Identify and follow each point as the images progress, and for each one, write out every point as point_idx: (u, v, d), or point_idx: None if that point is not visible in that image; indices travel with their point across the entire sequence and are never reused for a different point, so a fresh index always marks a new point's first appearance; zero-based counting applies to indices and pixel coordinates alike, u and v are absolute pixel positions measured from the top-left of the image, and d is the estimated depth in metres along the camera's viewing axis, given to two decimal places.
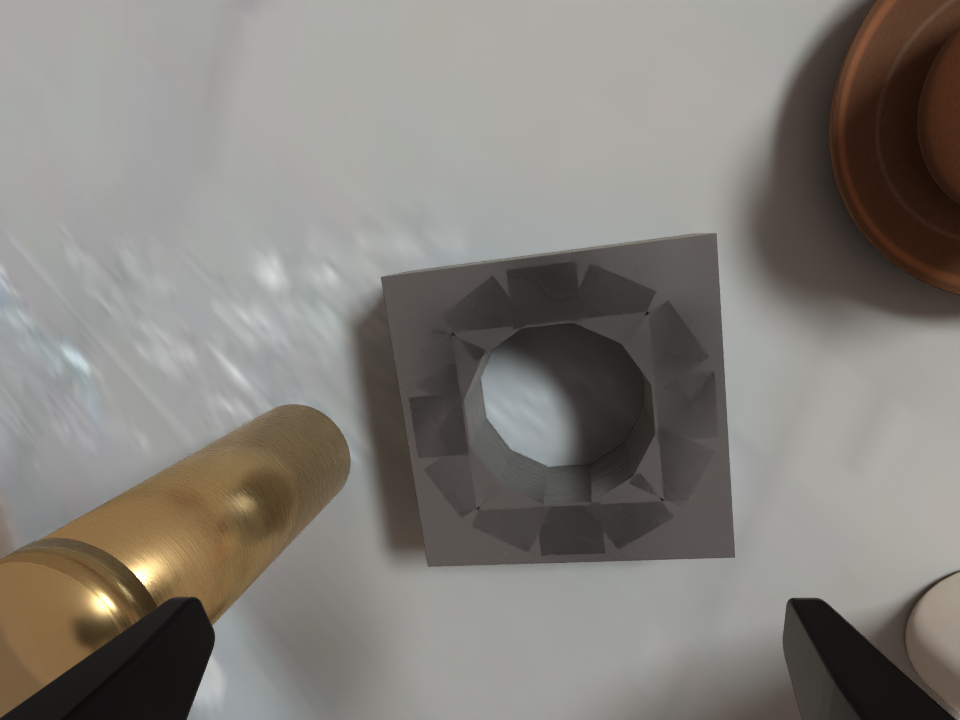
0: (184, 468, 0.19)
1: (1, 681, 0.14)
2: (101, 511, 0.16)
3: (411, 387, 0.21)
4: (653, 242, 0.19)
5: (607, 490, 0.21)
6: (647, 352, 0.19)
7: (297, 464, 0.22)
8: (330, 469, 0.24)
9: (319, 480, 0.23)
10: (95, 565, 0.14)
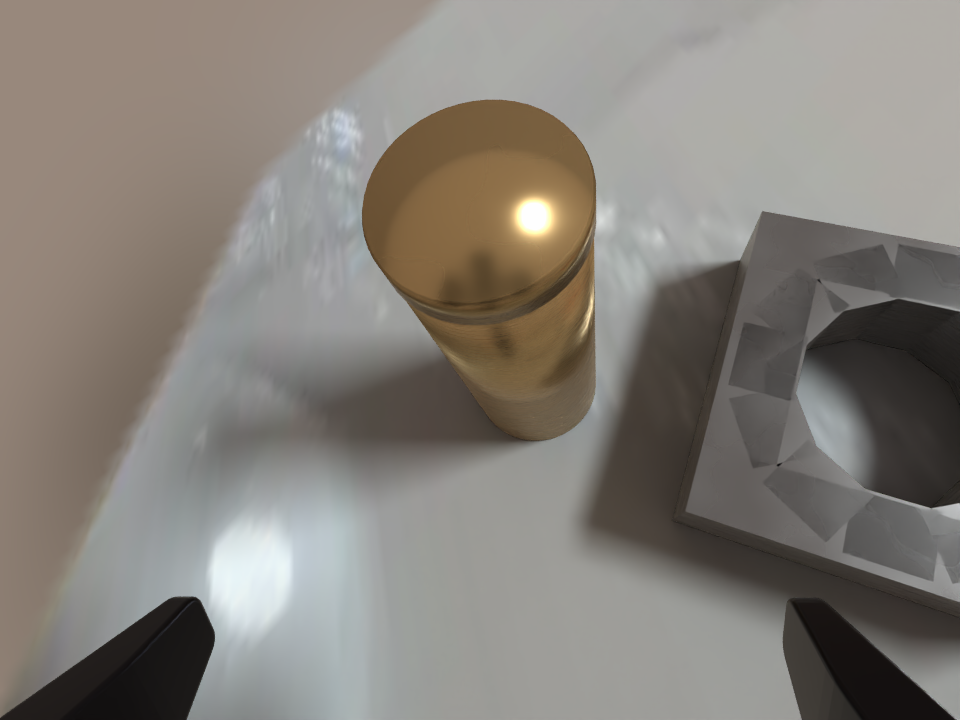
0: None
1: (403, 208, 0.12)
2: None
3: (751, 313, 0.20)
4: None
5: (953, 504, 0.17)
6: None
7: None
8: (593, 384, 0.21)
9: (592, 374, 0.20)
10: None
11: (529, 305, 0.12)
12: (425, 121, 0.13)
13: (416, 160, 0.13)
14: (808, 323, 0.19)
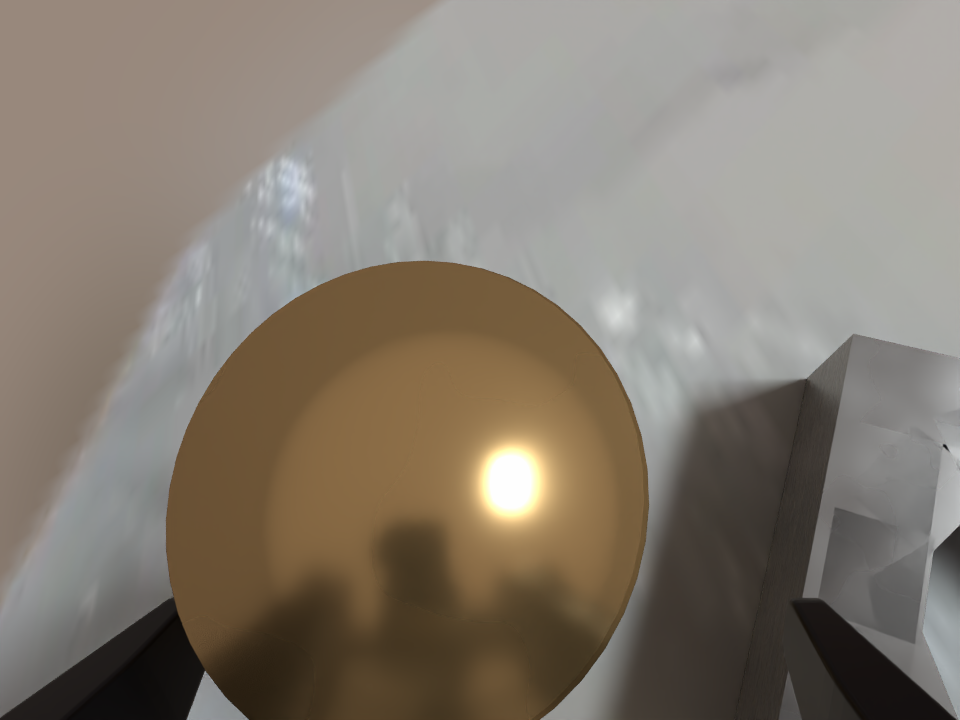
0: None
1: (247, 497, 0.06)
2: None
3: (846, 494, 0.13)
4: None
5: None
6: None
7: None
8: None
9: None
10: None
11: None
12: (310, 296, 0.07)
13: (282, 386, 0.06)
14: (934, 515, 0.13)
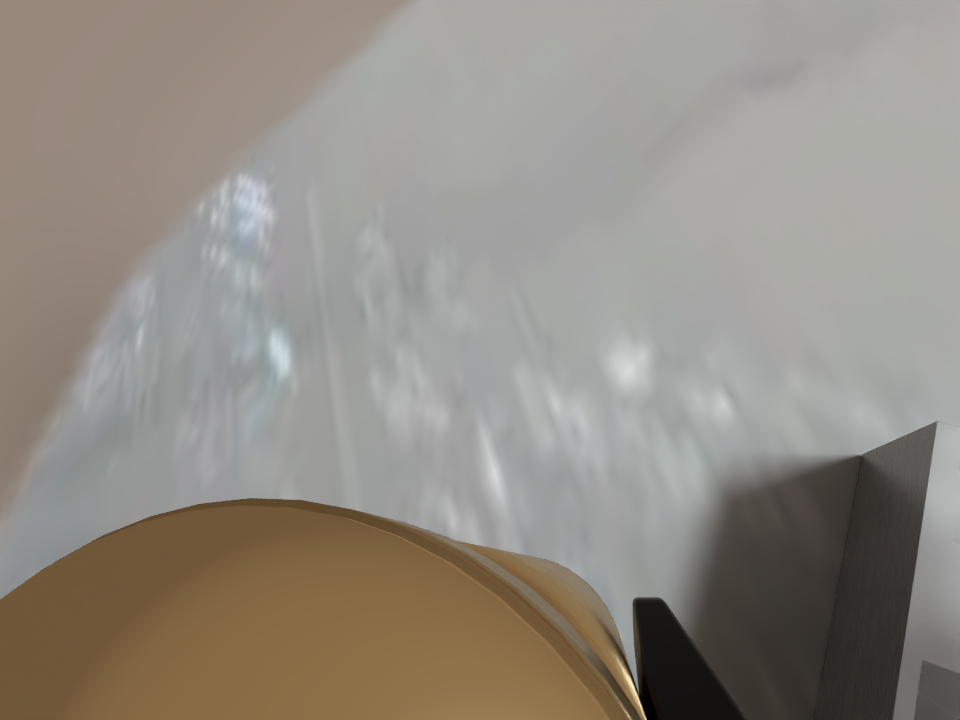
0: (534, 563, 0.08)
1: None
2: (471, 546, 0.06)
3: (936, 642, 0.10)
4: None
5: None
6: None
7: None
8: None
9: None
10: (633, 719, 0.03)
11: None
12: (76, 558, 0.03)
13: None
14: None
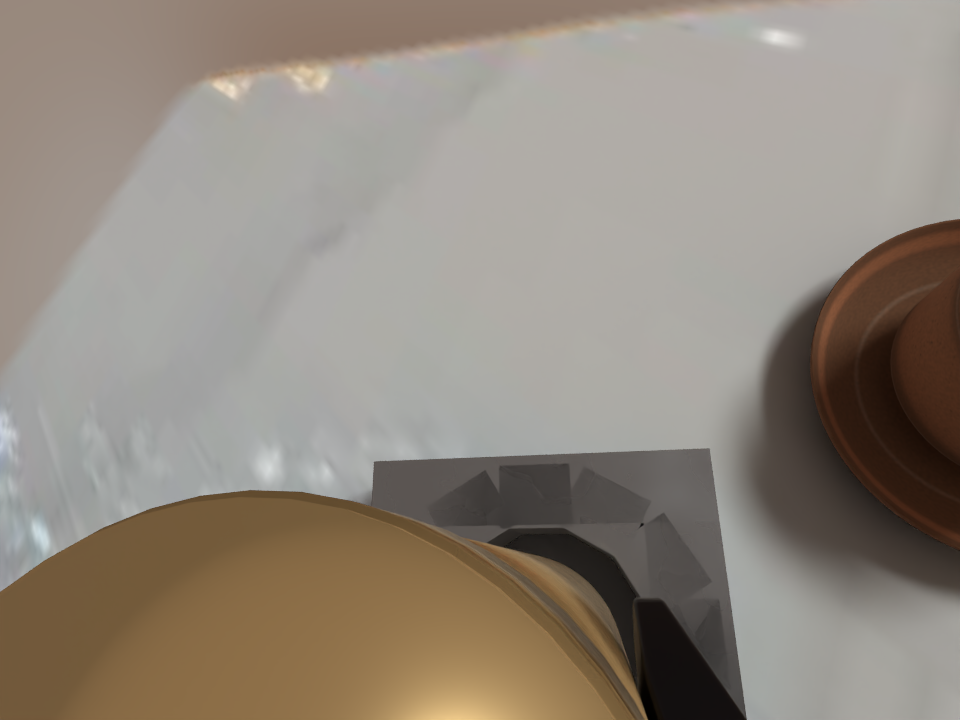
0: (534, 559, 0.08)
1: None
2: (471, 541, 0.06)
3: None
4: (647, 451, 0.19)
5: None
6: (643, 569, 0.18)
7: None
8: None
9: None
10: (632, 709, 0.03)
11: None
12: (77, 549, 0.04)
13: None
14: None
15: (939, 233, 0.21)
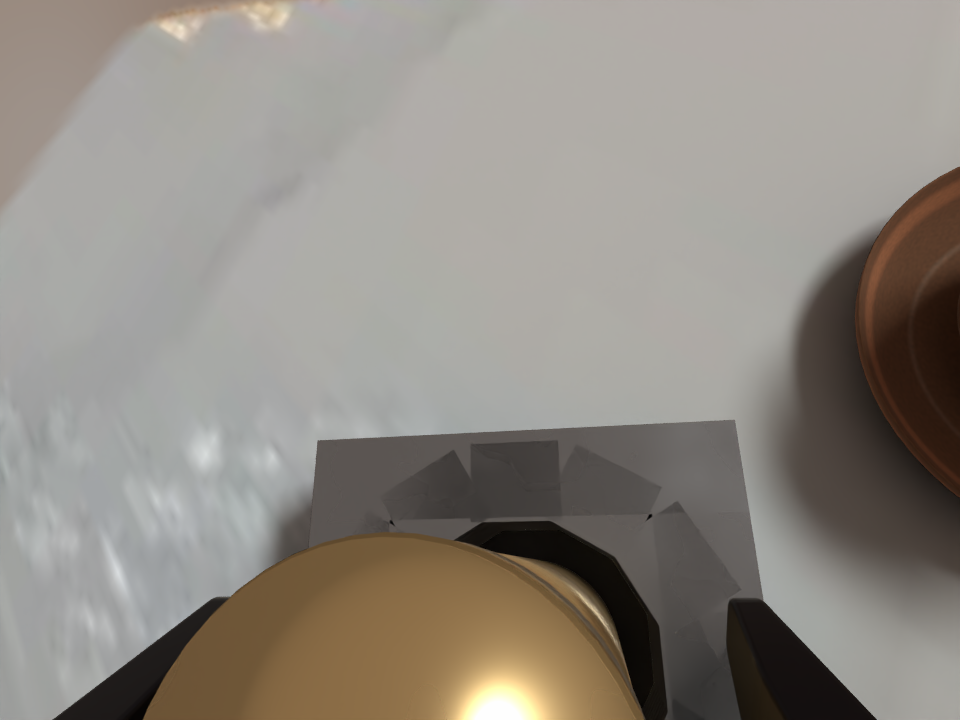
0: (546, 567, 0.10)
1: None
2: (505, 556, 0.08)
3: None
4: (655, 425, 0.15)
5: None
6: (651, 573, 0.14)
7: None
8: None
9: None
10: (614, 661, 0.05)
11: None
12: (279, 567, 0.06)
13: (244, 696, 0.05)
14: None
15: None
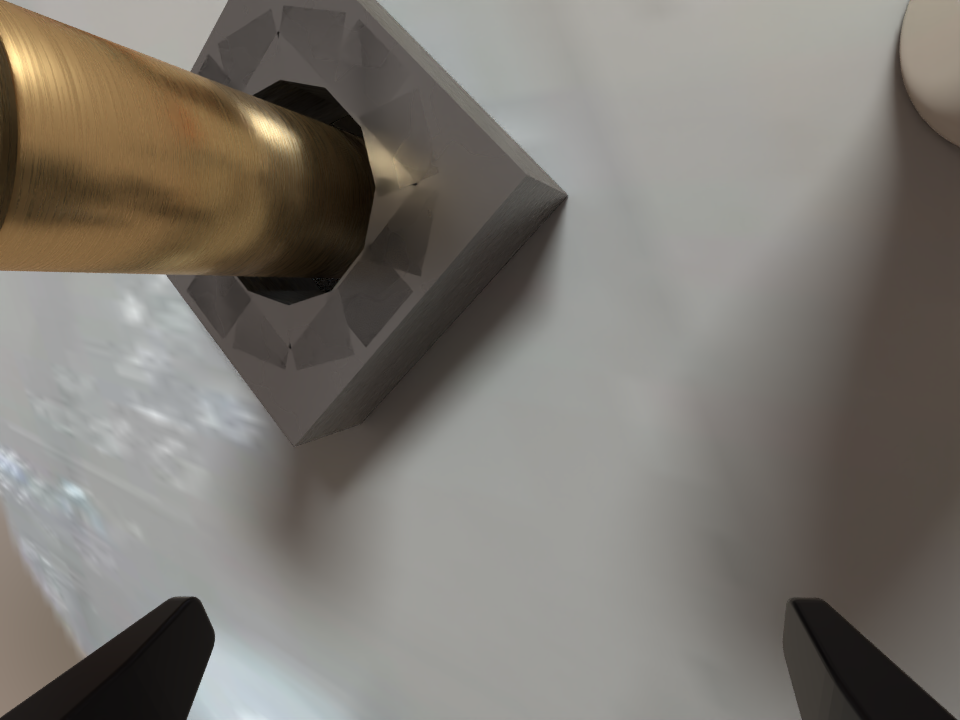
0: None
1: None
2: None
3: (183, 279, 0.20)
4: None
5: (371, 225, 0.17)
6: (302, 64, 0.17)
7: (312, 123, 0.16)
8: None
9: (351, 158, 0.17)
10: None
11: None
12: None
13: None
14: None
15: None
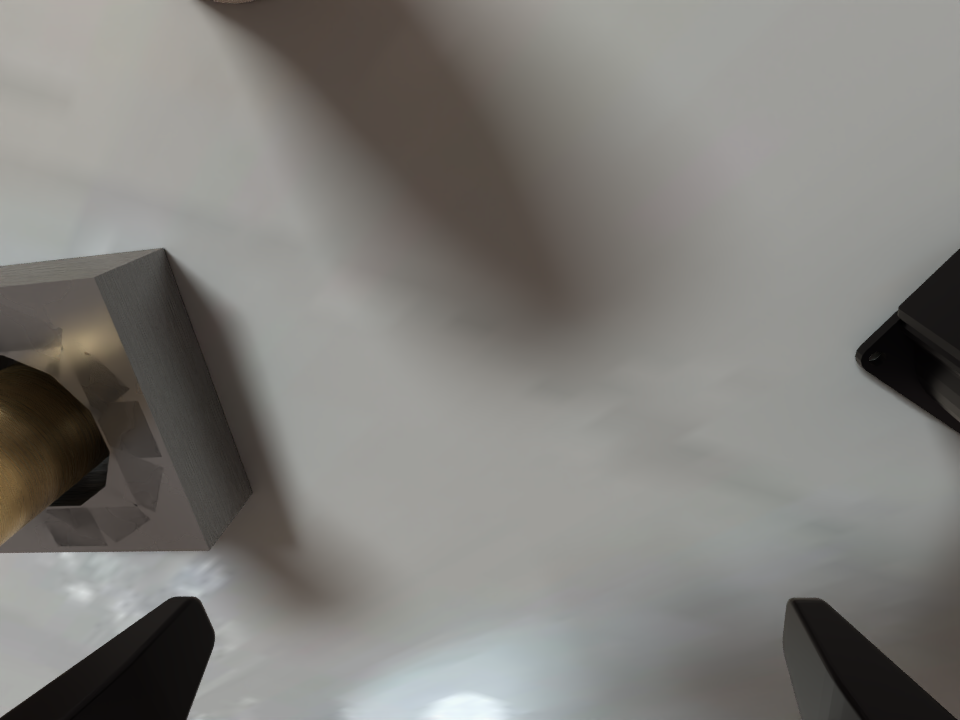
0: None
1: None
2: None
3: (48, 543, 0.24)
4: None
5: (78, 394, 0.20)
6: None
7: None
8: None
9: (26, 374, 0.21)
10: None
11: None
12: None
13: None
14: None
15: None
